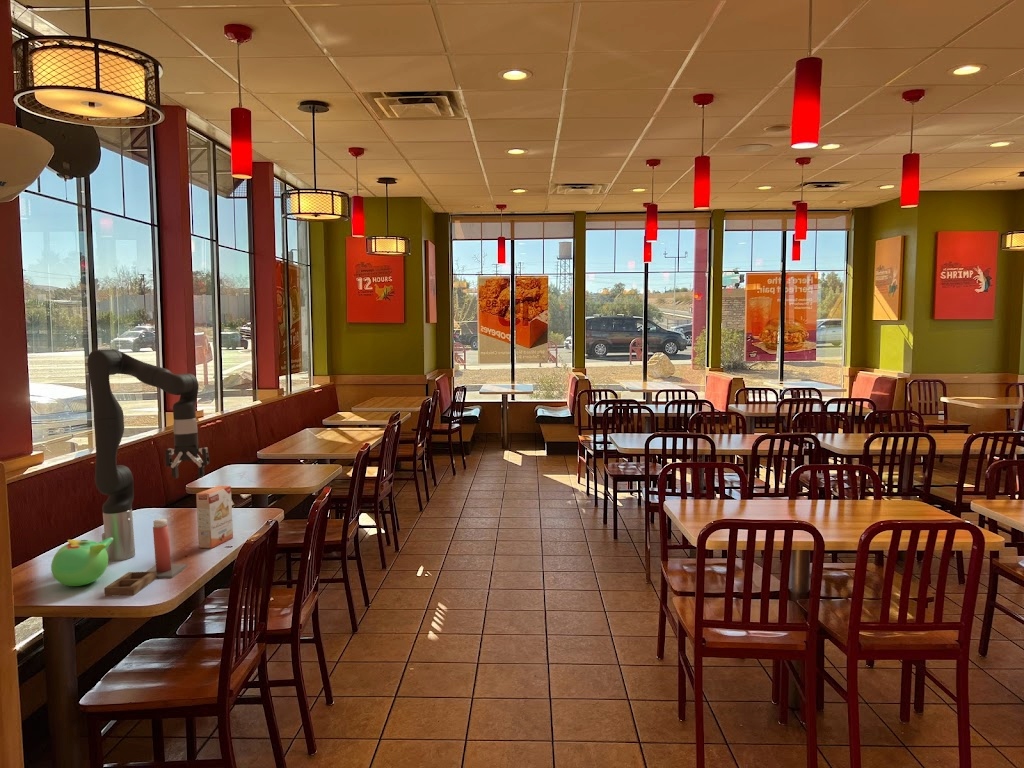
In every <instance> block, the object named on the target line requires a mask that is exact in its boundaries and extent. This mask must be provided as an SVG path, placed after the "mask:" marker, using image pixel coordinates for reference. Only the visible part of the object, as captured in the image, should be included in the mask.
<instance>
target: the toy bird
mask: <svg viewBox="0 0 1024 768" xmlns="http://www.w3.org/2000/svg"><path fill="white" fill-rule="evenodd" d="M112 541H113V538H112V537H110V538H108V539H106V540H104V541H102V540H101V541H100V542H97V541H93V540H88V539H80V540H76V539H67V544H65V545H64V546H62V547H61V548H59V549H58V551H56V553H55V554H54V556H53V558H52V561H51V565H50V567H51V568H50V570H51V574H52V577H53V578H54V580H55V581H57V582H58V583H60V584H62V585H65V586H69V587H80V586H85V585H89V584H92V583H93V582H95V581H97V580H99V578H101V576H102V575H103V574H104V573H105V571H106V570H107V567H108V563H109V561H108V554H107V551H106V550H107V548H108V547H109V545H110V544H111V543H112Z"/></svg>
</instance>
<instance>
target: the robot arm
mask: <svg viewBox="0 0 1024 768" xmlns="http://www.w3.org/2000/svg"><path fill="white" fill-rule="evenodd" d="M86 363H87V365H86V366H87V372H88V377H89V378H88V379H89V382H90V389H91V396H92V405H93V406H92V409H93V424H94V425H93V427H94V428H93V429H94V436H95V437H94V438H95V439H94V440H95V468H94V469H95V471H94V472H95V473H94V482H95V486H96V489H97V490H98V491H99V493H101V494H102V495H105V496H108V497H107V499H106V501H105V502H104V503H103V504H102V520H103V532H102V534H101V542H102V541H104V540H106V539H108V538H110V537H112V538H113V541H112V543H111V544H110V545H109V547H108V548H107V550H106V551H107V554H108V562H116V561H117V562H118V561H124V560H128V559H130V558H133V557H135V556H136V548H135V547H136V546H135V531H134V518H133V508H132V507H133V506H132V505H133V502H134V500H135V499H134V497H135V495H134V494H135V493H134V476H133V472H132V471H131V470H130V469H131V468H130V467H128V466H126V465H124V464H119V465H118V463H117V454H118V450H119V447H120V444H121V442H122V439H123V437H124V432H125V419H124V416H125V415H124V411H123V408H122V406H121V405H120V403H119V401H118V400H117V399H116V397H115V396H114V395H115V394H113V391H112V388H111V382H110V376H114V375H127V376H131V377H134V378H136V379H137V380H138V381H139V382H141V383H142V384H145V385H149V386H150V387H151V386H152V387H155V388H159V389H160V390H161V391H164V392H165V393H167V394H169V395H173V396H179V400H178V401H176V402H175V403H173V405H172V415H173V424H172V426H173V428H172V429H173V442H174V443H173V444H174V448H171V447H170V448H167V449H165V467H169V468H171V476H172V477H173V479H178V478H179V477H180V476H179V475H180V474H179V465H180V463H181V462H186V461H188V462H191V461H192V462H193V463H195V464H196V465H197V466H198V467H197V470H198V471H197V472H198V473H197V475H198V476H197V477H198V478H199V479H202V478H203V477H204V476H205V466H207V465H209V464H210V462H211V461H210V455H209V454H210V453H209V447H206V446H204V447H201V448H200V447H199V433H198V422H197V415H196V414H197V413H196V404H197V400H198V394H199V380H198V378H197V377H196V376H195V375H194V374H193V373H180V374H175V373H173V372H172V371H171V370H169V369H168V368H164V367H162V366H157V365H154V364H151V363H147V362H144V361H142V360H139V359H137V358H135V357H133V356H131V355H128V354H126V353H125V352H123V351H121V350H119V349H115V348H108V349H107V348H106V349H95V350H92V351H91V352H90V353H89V354H88V356H87V362H86ZM199 453H200V455H202V458H201V456H200V455H199ZM174 454H175V456H176V457H175V458H174V460H173V456H174Z"/></svg>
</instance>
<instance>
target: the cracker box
mask: <svg viewBox="0 0 1024 768" xmlns="http://www.w3.org/2000/svg"><path fill="white" fill-rule="evenodd" d="M195 496H196V497H195V498H196V500H195V501H196V514H197V515H196V516H197V533H198V536H197V537H198V548H199V549H200V548H201V549H214V548H215V547H217V546H219V545H221V544H223V543H225V542H228V541H230V540H231V538H232V539H234V531H233V530H234V529H233V527H234V526H233V510H232V509H233V507H232V505H233V504H232V487H231V486H230V485H217V486H215V487H210V488H209V489H206V490H203V491H200V492H198V493H196V494H195ZM229 539H230V540H229Z"/></svg>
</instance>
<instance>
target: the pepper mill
mask: <svg viewBox="0 0 1024 768" xmlns="http://www.w3.org/2000/svg"><path fill="white" fill-rule="evenodd" d="M152 532H153V544H154V548H153V549H154V560H155V565H156V572H166V571H169V570H171V565H172V561H171V557H172V556H171V548H170V547H171V546H170V545H171V544H170V533H169V525H168V519H167V518H160V519H159V518H158V519H155V520H153V527H152Z"/></svg>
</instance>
